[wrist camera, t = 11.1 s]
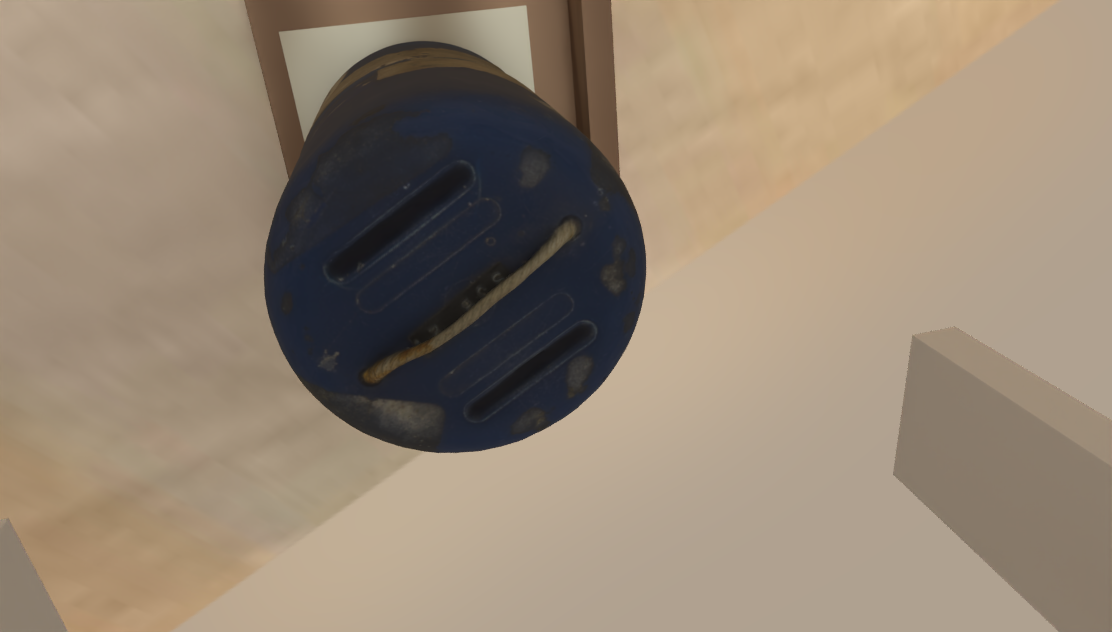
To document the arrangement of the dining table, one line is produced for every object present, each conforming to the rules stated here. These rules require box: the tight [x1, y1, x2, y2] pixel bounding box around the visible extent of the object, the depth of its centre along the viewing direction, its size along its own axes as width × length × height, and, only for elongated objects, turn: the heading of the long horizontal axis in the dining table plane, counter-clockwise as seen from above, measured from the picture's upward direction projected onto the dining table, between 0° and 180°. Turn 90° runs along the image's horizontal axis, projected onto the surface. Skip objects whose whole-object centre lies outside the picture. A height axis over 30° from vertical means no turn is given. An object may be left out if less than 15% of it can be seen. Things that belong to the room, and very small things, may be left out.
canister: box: [264, 41, 646, 453], centre depth 24 cm, size 10×10×18 cm
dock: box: [244, 0, 620, 179], centre depth 33 cm, size 14×14×5 cm
